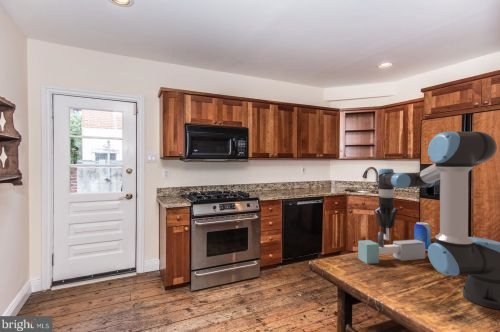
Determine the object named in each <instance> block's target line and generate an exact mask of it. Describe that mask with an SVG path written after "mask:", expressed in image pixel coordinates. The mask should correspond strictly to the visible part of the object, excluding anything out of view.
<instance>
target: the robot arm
mask: <svg viewBox="0 0 500 332" xmlns="http://www.w3.org/2000/svg"><path fill="white" fill-rule="evenodd" d="M497 148H498V146H497V141H496V140H495V138H494V137H492V136H491V135H490V134H489V133H486V132H483V131H445V132H440V133H437V134H436V135H434V137H433V138H432V139H431V140H430V142H429V144H428V148H427V156H428V157H429V160H430V161H431V162H433V164H431V165H429V166H427V167H426V168H424V169H423V170H420V171H418V172H395V170H394V168H379V169H378V174H377V177H378V178H377V180H378V181H377V182H378V186H377V187H378V207H377V209H376V208H375V209H374V213H375V214H376V220H377V223H378V227H380V228H381V229H382V231H381V232H383V233H384V240H385V241H390V234H391V229H392V227H395V222H396V217H397V213H398V211H399V210H398V208H395V206H394V204H395V197H394V196H395V193H394V192H395V191H394V189H395V188H397V189H406V188H431V187H433V186H434V185H435V184H436V182H437V181H439V233H438V234H436V235H435V238H434V242H433V243H431V245H430V246H429V247H428V251H427V256H428V259H429V261H430V263H431V265H432V266H433V267H432V268H434V269H435V270H436V271H437V272H438V273H440V274H441V275H444V276H455V277H456V276H467V278H466V280H465V282H464V285H463V287H462V296H463V297H464V298H465V299H466V300H468V301H470V302H472V303H474V304H476V305H480V306H481V307H485V308H489V309H494V310H500V242H499V241H496V240H492V239H488V238H483V237H476V236H469V172H470V171H471V170H472V169H474V167H476V166H479V165H481V164H483V163H486V162H488V161H489V160H491V159H492V158H494V156H495V154H496V153H497V151H498V150H497Z"/></svg>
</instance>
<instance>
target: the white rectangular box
mask: <svg viewBox="0 0 500 332" xmlns="http://www.w3.org/2000/svg"><path fill="white" fill-rule="evenodd" d="M393 244H398V245H400V253H392V257H393V258H395V259H398V260H399V261H411V260H412V261H414V260H424V259H426V251H425V242H422V241H419V240H416V239H415V240H414V239H405V240H404V239H403V240H393V241H392V245H393Z"/></svg>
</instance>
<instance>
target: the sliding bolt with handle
mask: <svg viewBox="0 0 500 332" xmlns="http://www.w3.org/2000/svg"><path fill="white" fill-rule="evenodd" d="M384 240H385V239H384V233H383V232H382V231H378V232H377V244H379V255H388V254H393V253H400V245H398V244H393V243H392V244H384V243H385V242H384Z"/></svg>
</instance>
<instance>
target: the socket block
mask: <svg viewBox="0 0 500 332" xmlns="http://www.w3.org/2000/svg"><path fill="white" fill-rule="evenodd" d="M357 244H358V245H357V246H358V247H357V249H358V250H357V251H358V253H357V259H358V260H360V261H362V262H363V263H364V264H366V265H369V264H379V263H380V254H379V244H378V242H375V241H373V240H370V239H366V240H364V239H362V240H358V241H357Z"/></svg>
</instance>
